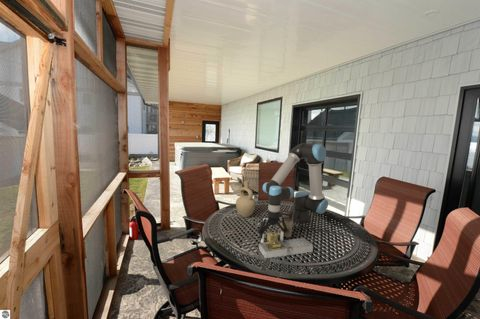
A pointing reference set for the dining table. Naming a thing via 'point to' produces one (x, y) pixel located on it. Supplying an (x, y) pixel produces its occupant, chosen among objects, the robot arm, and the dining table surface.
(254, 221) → the dining table surface
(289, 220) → the coffee box
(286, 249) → the grey slotted tray
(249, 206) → the vase
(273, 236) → the gold knobbed block
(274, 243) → the drawer with knob
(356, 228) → the dining table surface
